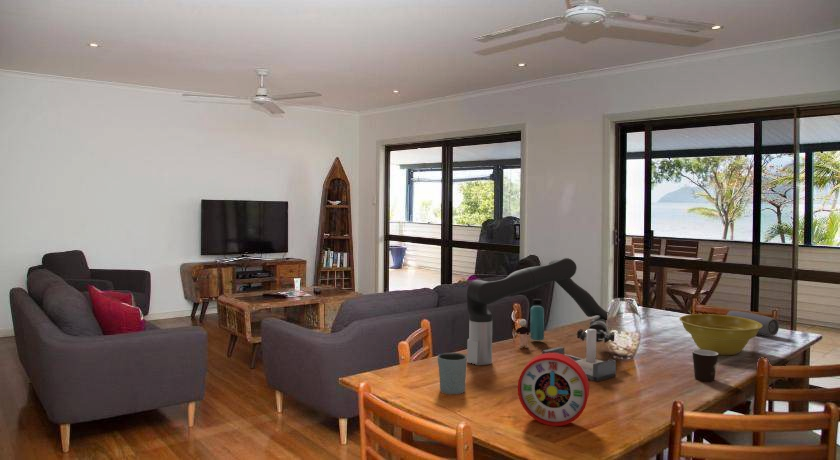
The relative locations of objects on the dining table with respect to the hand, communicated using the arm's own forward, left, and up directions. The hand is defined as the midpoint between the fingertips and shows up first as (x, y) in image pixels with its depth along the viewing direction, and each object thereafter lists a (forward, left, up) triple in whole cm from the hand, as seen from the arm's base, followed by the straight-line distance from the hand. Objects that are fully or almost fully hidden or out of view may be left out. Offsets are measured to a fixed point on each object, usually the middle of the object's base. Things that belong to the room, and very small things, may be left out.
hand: (594, 339), depth 229 cm
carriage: (-8, -5, -9) cm, 13 cm away
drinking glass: (-62, +12, -12) cm, 64 cm away
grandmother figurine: (+2, +39, -12) cm, 41 cm away
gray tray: (-8, +1, -11) cm, 14 cm away
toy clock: (-57, -28, -12) cm, 65 cm away
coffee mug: (+22, -34, -12) cm, 42 cm away
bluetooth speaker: (+115, -9, -12) cm, 116 cm away
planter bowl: (+66, -17, -12) cm, 69 cm away
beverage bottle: (+15, +42, -12) cm, 46 cm away
